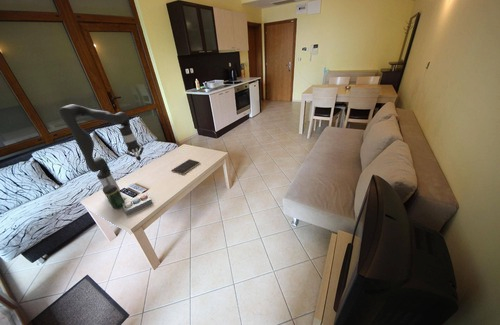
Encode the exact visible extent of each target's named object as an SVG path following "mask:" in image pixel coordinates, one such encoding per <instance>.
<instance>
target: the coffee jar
mask: <svg viewBox="0 0 500 325" xmlns="http://www.w3.org/2000/svg"><path fill="white" fill-rule="evenodd" d="M102 187H103V186H102ZM102 192H103V194H104V196H105V197H106V198H107V200H108V202H109V203H110V205H111V207H112V208H113V209H115V210H119V209H122V208H124V207H123V205H122V204H123V203H125V202H126V201H125V200H124V198H123V196H122V194H121V193H120V192H119V191H118V189H117V187H116V186H114V185H107V186H105V187H103V188H102Z"/></svg>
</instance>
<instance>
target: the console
mask: <svg viewBox="0 0 500 325" xmlns="http://www.w3.org/2000/svg"><path fill="white" fill-rule="evenodd" d="M143 195H146V196H147V199H145V200H143V201H142V199H141V197H142V196H143ZM135 199H139V201H140V202H138V203H136V204H134V202H133V200H135ZM128 202H131V204H132V206H130V207H128V208H126V206H125V204H126V203H128ZM152 204H153V201H152V199H151V197H150V196H149V194H148V192H144V193H143V194H140V195H138V196H136V197H134V198H132V199H130V200H126V201H125V203H123V204H122V205H123V207H122V208H123V209H124V210H123V211H124V212H125V214H126V216H127V217H128V216H129V215H131V214H134V213H135V212H138V211H140V210H143V209H144V208H146V207H148V206H150V205H152Z"/></svg>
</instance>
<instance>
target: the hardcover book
mask: <svg viewBox="0 0 500 325" xmlns="http://www.w3.org/2000/svg"><path fill="white" fill-rule="evenodd" d="M199 164H200V161H197V160H192V159H190V158H189V159H187V160H186V161H184V162H182V163H180V164H179V165H177V166H176V167H174V168H172V169H171V172H173V173H175V174H180V175H183V176H184V175H185V174H186V173H187V172H189V171H191V170H192V169H193V168H195V167H196V166H198V165H199Z"/></svg>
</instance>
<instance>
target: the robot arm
mask: <svg viewBox="0 0 500 325" xmlns="http://www.w3.org/2000/svg"><path fill="white" fill-rule="evenodd" d="M58 111H59V115H60V117H61V119H62V120H63V122H64V123H65V125H66V126H67V127H68V129H69V130H70V132H71V135H72V136H73V138H74V141H75V143H76V144H77V146H78V147H79V150H80V152H81V154H82V155H83V158H84V160H85V163H86V165H87V167H88V169H89V170H90V171H91V172H93V173H97V175H96V177H97V179H98V180H99V182H100V183H101V186H102V187H105V186H107V185H114V186H116V187H117V189H118V191H119V193H120V191H121V189H120V187H119V185H118V183H117V181H116V179H115V178H114V176H113V175H112V173H111V169H110V167H109V165H108V164H107V162H106V160H105V159H104V158H103V157H101V156H97V157H95V158H94V149H95V142H94V140H93V137H92V136H91V134H90V133H89V132H87V131H86V130H85V129H83V128H82V127H81V126H80V124H79V123H78V121H77V119H79V118H81V117H88V118H91V119H94V120H95V121H99V122H108V123H110V124H113V125H120V127H119V132H120V134H121V136H122V139H123V142H124V144H125V145H126V148H127V151H126V152H125V154H126V155H128V156H130V157H132V158H136V160H137V161H138V162H140V161H141V160H142V158H141V155H142V154H143V151H144V149H145V147H144V146H140V144H139V143H138V141H137V138H136V136H135V134H134V133H133V130H132V128H131V123H130V118H129V115H128V114H127V113H125V112H124V111H119V112H116V113H115V114H114V113H112V112H110V111H107V110H99V109H94V108H93V109H92V108H89V107H86V106H83V105H82V106H81V105H78V104H73V103H72V104H71V103H70V104H68V105H65V106H62V107H60V108H59V110H58Z"/></svg>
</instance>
